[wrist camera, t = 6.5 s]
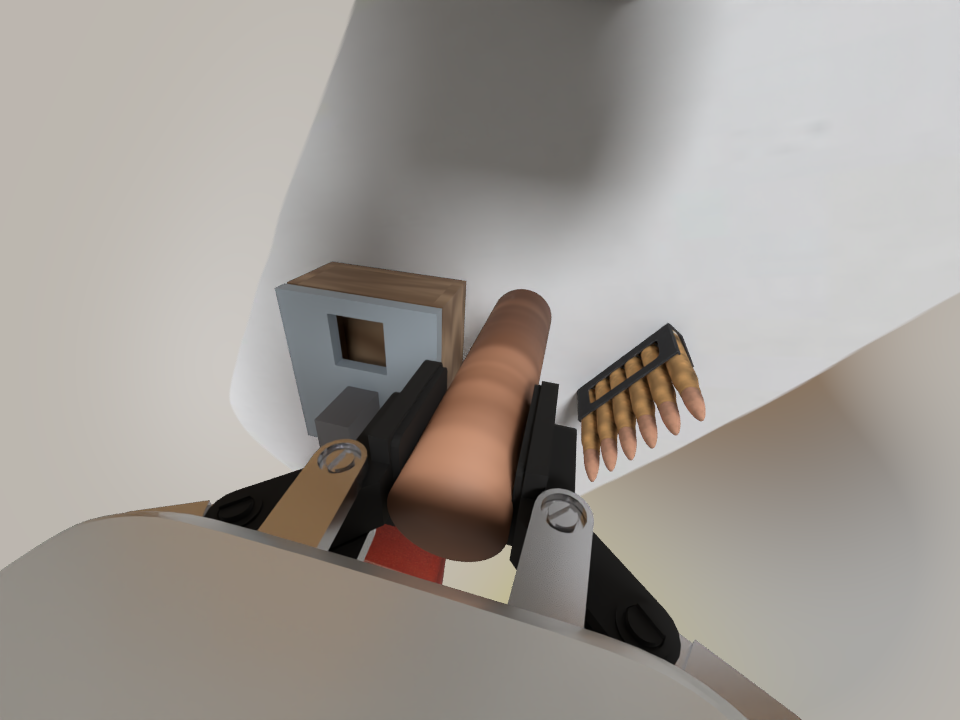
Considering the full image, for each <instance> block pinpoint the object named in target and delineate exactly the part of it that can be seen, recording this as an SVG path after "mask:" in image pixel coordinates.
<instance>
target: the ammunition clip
mask: <svg viewBox="0 0 960 720" xmlns="http://www.w3.org/2000/svg"><path fill="white" fill-rule="evenodd" d="M693 367H694V365H693V363H692V360H691V357H690V355H689V352H688V349H687V347H686V344H685V341H684V339H683V336H682V335H681V334H680V333H679V332H678V331H677V330H676V329H675V328H674V327H673V326H672V325H671V324H669V323H667V324H666V325H665V326H663V327H662V328H661V329H659V330H658V331H657V332H655V333H654V334H652V335H651V336H650V337H648V338H647V339H646V340H644V341H643V342H642V343H640V344H639V345H638V346H636V347H635V348H634V349H632V350H631V351H630V352H628V353H627V354H626V355H624V356H623V357H621V358H620V359H619V360H617V361H616V362H615V363H613V364H612V365H611V366H609V367H608V368H607V369H605V370H604V371H603V372H601V373H600V374H599V375H597V376H596V377H595V378H593V379H592V380H590V381H589V382H588V383H586V384H585V385H584V386H582V387H581V388H580V389H578V392H577V394H578V420H579V421H580V422H581V442H582V445H583V454H584V464H585V470H586V473H587V476H588V478H589V480H590V481H591V482H593V481H594V480H595V479H596V477H597V474H598V469H599V456H600V446H601V452H602V457H603V460H604V463H605V465H606V467H607V469H608V470H609V471H613V469H614V468H615V465H616V460H617V435H618V434H619V439H620V443H621V447H622V449H623V452H624V454H625V455H626V457H627V458H628V459H629V460H633V458H634V456H635V452H636V446H637V440H636V428H635V425H636V419H637V422H638V425H639V429H640V432H641V435H642V437H643V439H644V441H645V442H646V444H647V445H648V446H649V447H650V448H654V447H655V445H656V442H657V426H656V419H655V405H654V402H655V403H656V405H657V408H658V410H659V412H660V415H661V418H662V420H663V422H664V424H665V426H666V427H667V428H668V430H669V431H670V432H671V433H672V434H674V435H678V433H679V431H680V416H679V411H678V407H677V403H676V392H675V389H674V387H675V388H676V389H677V391H678V392H679V394H680V396H681V398H682V400H683V402H684V404H685V406H686V407H687V409H688V410H689V412H690V413H691V414H692V415H693V416H694V417H695V418H696V419H697V420H699V421H703V420H704V418H705V404H704V400H703V397H702V394H701V391H700V388H699V383H698V378H697V375H696V373H695V371H694V369H693ZM673 385H674V386H673ZM653 400H654V401H653Z"/></svg>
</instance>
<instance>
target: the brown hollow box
mask: <svg viewBox="0 0 960 720" xmlns="http://www.w3.org/2000/svg"><path fill="white" fill-rule="evenodd" d="M287 284H291V285H297V286H303V287H310V288H316V289H322V290H329V291H335V292H341V293H347V294H354V295H360V296H366V297H372V298H379V299H385V300H391V301H397V302H404V303H410V304H416V305H422V306H429V307H435V308H441V309H442V352H441V362H442V364H443V367H446V368H447V371H448V373H447V390H448V388H449V386H450V384H451V383H452V381H453V379H454V377H455V376H456V374H457V372H458V370H459V369H460V367H461V365H462V362H463V340H464V319H465V297H466V281H462V280H455V279H448V278H441V277H434V276H427V275H421V274H414V273H407V272H400V271H393V270H386V269H379V268H372V267H365V266H358V265H351V264H344V263H338V262H330V263H328V264H326V265H324V266H322V267H320V268H317V269H315V270H313V271H311V272H309V273H306V274H304V275H302V276H300V277H298V278H296V279H293V280H291V281H289V282H287ZM336 318H337V325H338V332H339V338H340V345H341V352H342V359H347V360H352V361H357V362H362V363H367V364H372V365H377V366H383V367H386V354H385V341H384V328H383V323H380V322H374V321H368V320H362V319H356V318H351V317H345V316H339V315H336Z"/></svg>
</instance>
